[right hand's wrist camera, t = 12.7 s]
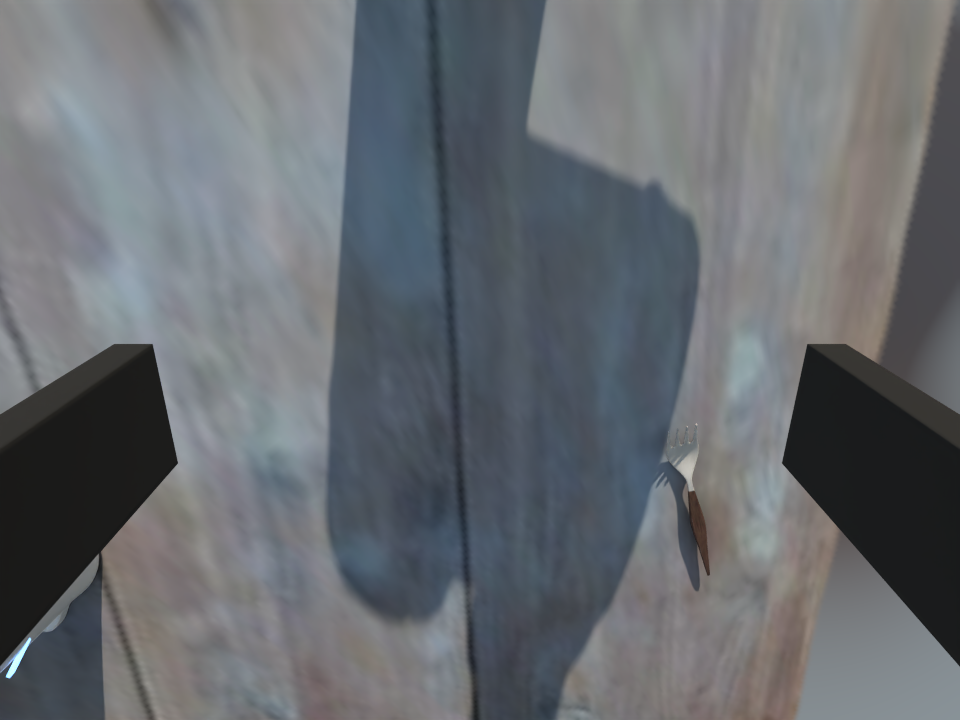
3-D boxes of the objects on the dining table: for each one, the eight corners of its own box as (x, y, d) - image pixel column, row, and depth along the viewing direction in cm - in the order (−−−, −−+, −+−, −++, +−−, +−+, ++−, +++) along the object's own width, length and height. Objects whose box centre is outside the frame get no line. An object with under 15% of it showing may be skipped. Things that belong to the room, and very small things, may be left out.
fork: (691, 574, 53) (699, 591, 52) (658, 420, 48) (665, 432, 46) (721, 567, 53) (729, 584, 51) (691, 411, 48) (699, 423, 46)
